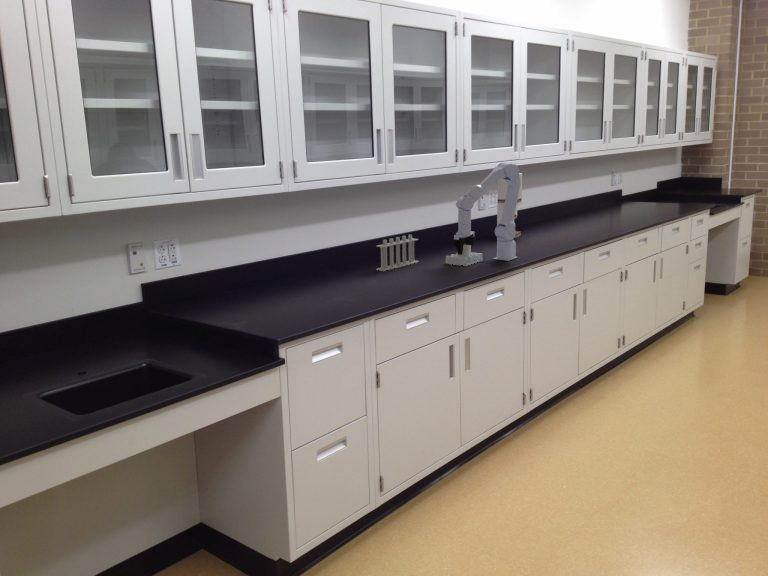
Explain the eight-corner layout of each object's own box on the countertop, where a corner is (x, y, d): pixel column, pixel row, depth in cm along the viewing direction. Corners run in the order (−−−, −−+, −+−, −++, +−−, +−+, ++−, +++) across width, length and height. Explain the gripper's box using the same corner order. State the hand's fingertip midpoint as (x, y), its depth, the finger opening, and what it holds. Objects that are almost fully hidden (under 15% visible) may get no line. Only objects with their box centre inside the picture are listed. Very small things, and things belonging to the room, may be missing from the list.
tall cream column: (515, 238, 373) (517, 174, 365) (496, 237, 378) (497, 174, 370) (520, 235, 383) (522, 173, 375) (502, 234, 388) (503, 172, 380)
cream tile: (459, 259, 310) (459, 244, 308) (470, 260, 306) (471, 245, 305) (457, 259, 308) (457, 244, 307) (468, 261, 305) (468, 245, 303)
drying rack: (462, 258, 316) (462, 251, 315) (482, 261, 310) (482, 253, 309) (445, 263, 305) (445, 256, 304) (466, 266, 299) (466, 258, 298)
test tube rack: (411, 261, 313) (411, 233, 310) (419, 262, 310) (418, 234, 307) (376, 270, 294) (375, 240, 291) (383, 271, 292) (383, 241, 289)
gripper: (465, 221, 311) (465, 250, 314) (448, 224, 300) (448, 254, 303) (478, 222, 307) (478, 251, 310) (461, 226, 296) (461, 256, 299)
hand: (464, 253), depth 307 cm, fingers open, 7 cm apart
